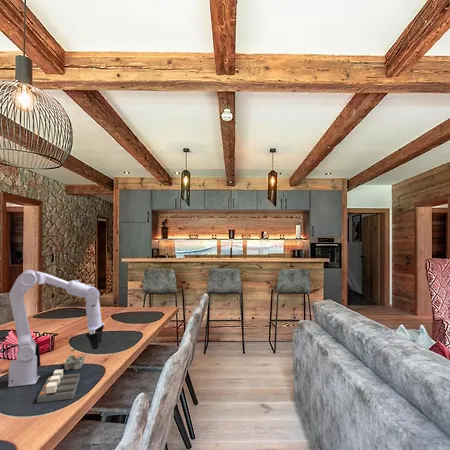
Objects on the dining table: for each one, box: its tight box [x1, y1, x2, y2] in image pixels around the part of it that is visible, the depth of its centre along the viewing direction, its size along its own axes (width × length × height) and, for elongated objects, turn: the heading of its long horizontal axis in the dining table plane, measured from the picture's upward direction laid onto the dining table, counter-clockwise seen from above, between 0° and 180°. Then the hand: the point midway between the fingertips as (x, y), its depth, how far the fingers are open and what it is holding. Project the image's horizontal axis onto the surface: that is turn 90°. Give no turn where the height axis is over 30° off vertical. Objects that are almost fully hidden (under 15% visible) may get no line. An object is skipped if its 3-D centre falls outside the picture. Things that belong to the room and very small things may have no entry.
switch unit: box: [36, 373, 81, 404], centre depth 133 cm, size 12×19×2 cm, turn 16°
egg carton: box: [63, 353, 86, 371], centre depth 158 cm, size 11×8×4 cm
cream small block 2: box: [46, 382, 57, 394], centre depth 126 cm, size 3×4×2 cm
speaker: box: [35, 343, 42, 367], centre depth 156 cm, size 8×6×10 cm
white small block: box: [52, 368, 64, 379], centre depth 139 cm, size 3×4×2 cm
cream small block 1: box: [50, 375, 60, 385], centre depth 133 cm, size 3×4×2 cm
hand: (97, 345), depth 153 cm, fingers open, 7 cm apart
